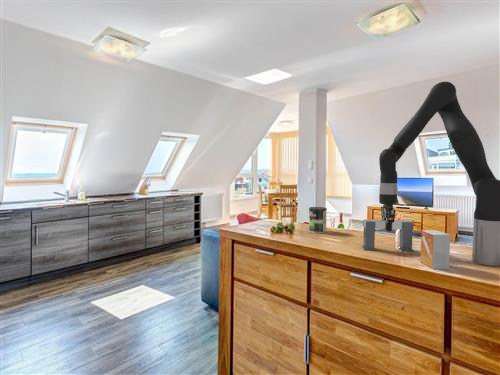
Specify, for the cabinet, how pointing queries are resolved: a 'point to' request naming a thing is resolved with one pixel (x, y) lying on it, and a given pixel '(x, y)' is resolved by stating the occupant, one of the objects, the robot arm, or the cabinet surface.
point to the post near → (406, 237)
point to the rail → (382, 223)
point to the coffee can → (317, 219)
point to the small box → (435, 249)
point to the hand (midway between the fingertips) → (387, 229)
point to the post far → (369, 236)
